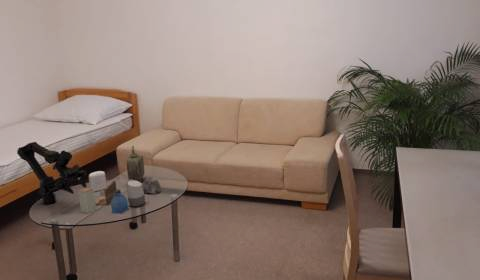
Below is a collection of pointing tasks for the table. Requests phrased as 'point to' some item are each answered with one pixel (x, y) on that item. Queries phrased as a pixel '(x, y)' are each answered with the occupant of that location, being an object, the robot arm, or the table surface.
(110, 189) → the cleat board
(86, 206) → the cabinet block
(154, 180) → the mineral rock
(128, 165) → the green spouted canister
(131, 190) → the smart speaker
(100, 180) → the photo printer
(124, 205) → the perfume bottle
